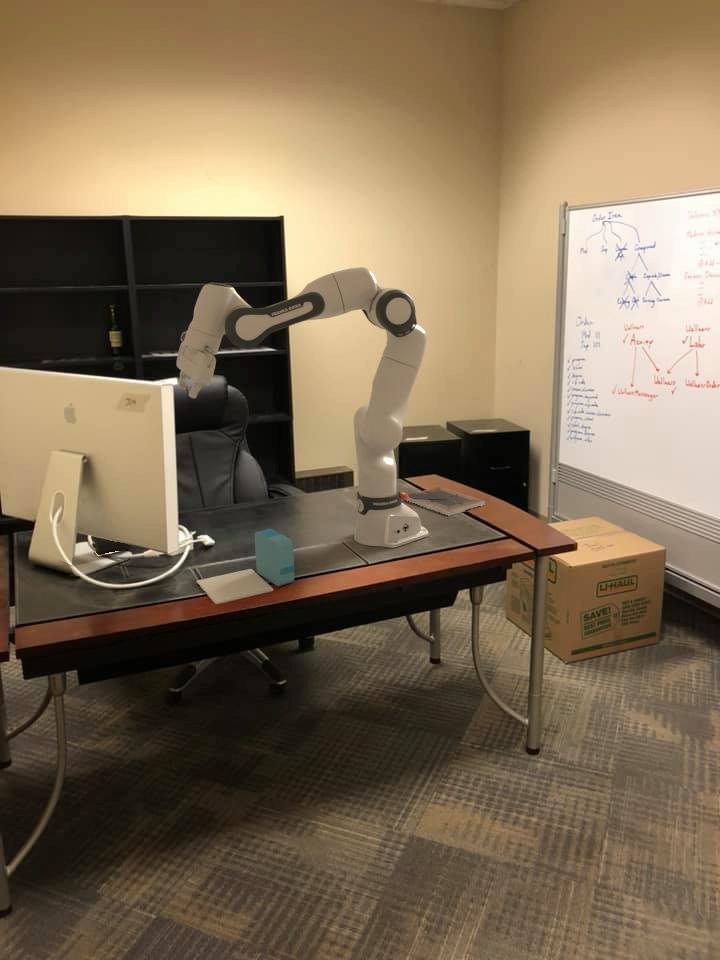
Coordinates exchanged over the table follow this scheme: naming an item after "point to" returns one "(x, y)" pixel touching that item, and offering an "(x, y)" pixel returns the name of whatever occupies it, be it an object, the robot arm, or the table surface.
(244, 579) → the grey pad
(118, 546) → the end cap
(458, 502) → the picture frame
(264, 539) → the blue box
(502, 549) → the table surface
